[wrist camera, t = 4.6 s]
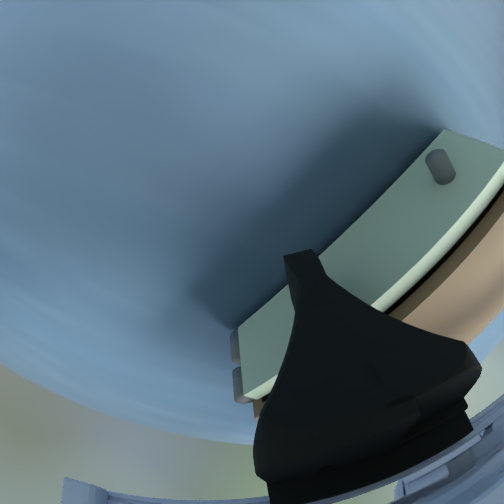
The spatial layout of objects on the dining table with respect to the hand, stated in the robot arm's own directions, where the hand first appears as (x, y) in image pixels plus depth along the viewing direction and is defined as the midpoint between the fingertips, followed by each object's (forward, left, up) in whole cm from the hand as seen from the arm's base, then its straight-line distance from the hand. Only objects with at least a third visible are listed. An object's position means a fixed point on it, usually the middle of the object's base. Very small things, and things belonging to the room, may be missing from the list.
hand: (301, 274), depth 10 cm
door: (-1, -2, -2) cm, 3 cm away
